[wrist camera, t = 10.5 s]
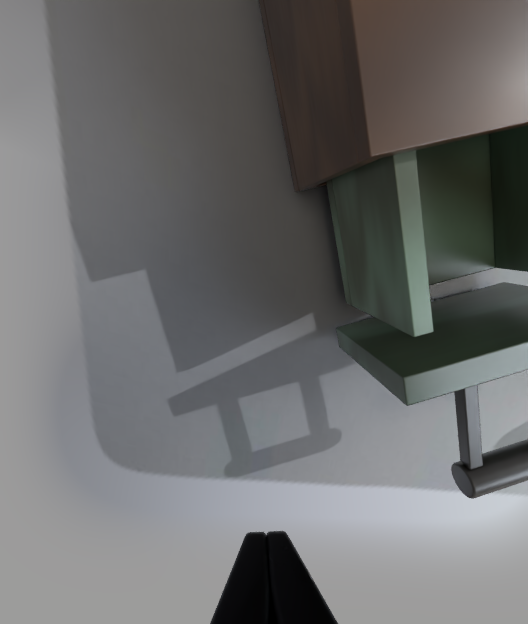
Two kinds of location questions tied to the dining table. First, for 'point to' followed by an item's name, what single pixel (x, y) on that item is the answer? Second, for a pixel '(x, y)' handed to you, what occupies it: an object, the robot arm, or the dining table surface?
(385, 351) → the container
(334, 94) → the storage unit
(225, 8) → the dining table surface
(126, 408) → the dining table surface
